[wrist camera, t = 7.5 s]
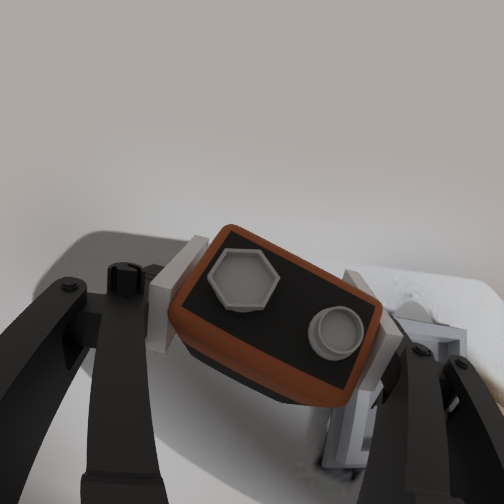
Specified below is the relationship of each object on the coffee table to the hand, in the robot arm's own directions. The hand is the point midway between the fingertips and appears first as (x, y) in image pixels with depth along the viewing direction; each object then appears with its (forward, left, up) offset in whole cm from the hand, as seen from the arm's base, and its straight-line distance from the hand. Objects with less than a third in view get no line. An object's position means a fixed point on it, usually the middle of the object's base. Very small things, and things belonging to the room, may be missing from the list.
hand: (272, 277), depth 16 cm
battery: (-4, 0, -4) cm, 5 cm away
